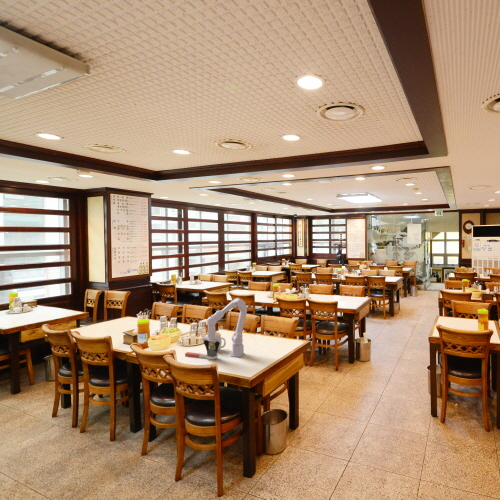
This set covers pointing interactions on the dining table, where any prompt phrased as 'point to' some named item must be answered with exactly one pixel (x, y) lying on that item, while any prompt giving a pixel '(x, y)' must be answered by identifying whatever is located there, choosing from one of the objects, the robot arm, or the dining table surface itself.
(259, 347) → the dining table surface
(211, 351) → the socket
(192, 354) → the ratchet
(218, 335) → the pitcher
